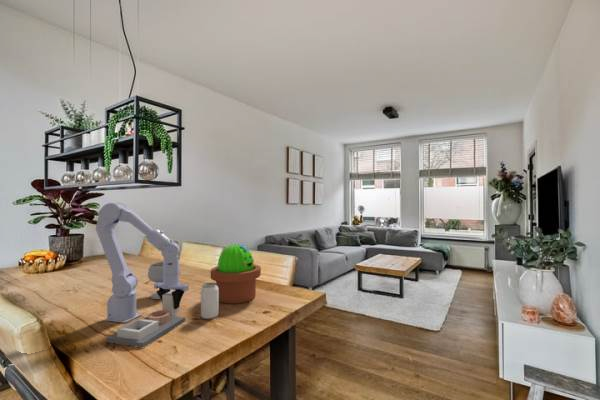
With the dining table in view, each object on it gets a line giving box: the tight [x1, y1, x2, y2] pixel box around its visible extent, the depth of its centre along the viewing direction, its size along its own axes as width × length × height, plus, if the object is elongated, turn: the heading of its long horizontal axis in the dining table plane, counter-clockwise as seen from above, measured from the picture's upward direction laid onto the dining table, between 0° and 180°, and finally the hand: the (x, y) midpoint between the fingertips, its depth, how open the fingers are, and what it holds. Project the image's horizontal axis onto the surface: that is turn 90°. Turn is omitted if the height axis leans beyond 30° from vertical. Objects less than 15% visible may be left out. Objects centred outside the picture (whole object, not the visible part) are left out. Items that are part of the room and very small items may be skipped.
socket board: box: [105, 310, 186, 348], centre depth 100 cm, size 14×20×4 cm
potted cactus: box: [210, 243, 262, 305], centre depth 134 cm, size 22×22×25 cm
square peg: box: [161, 292, 181, 316], centre depth 115 cm, size 4×4×8 cm
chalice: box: [147, 261, 182, 300], centre depth 137 cm, size 14×14×15 cm
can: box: [200, 282, 219, 320], centre depth 113 cm, size 6×6×12 cm
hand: (171, 307), depth 115 cm, fingers closed on square peg, 4 cm apart
